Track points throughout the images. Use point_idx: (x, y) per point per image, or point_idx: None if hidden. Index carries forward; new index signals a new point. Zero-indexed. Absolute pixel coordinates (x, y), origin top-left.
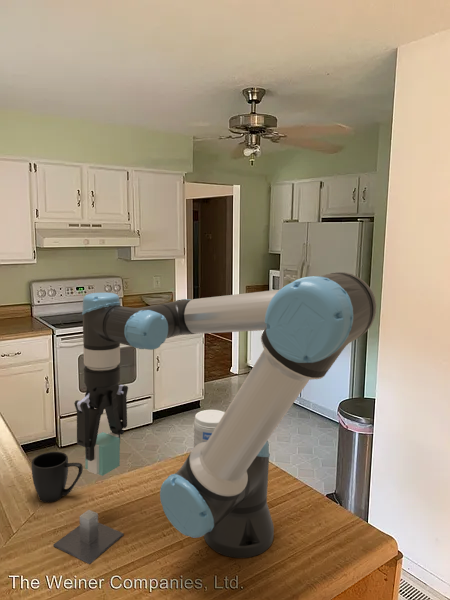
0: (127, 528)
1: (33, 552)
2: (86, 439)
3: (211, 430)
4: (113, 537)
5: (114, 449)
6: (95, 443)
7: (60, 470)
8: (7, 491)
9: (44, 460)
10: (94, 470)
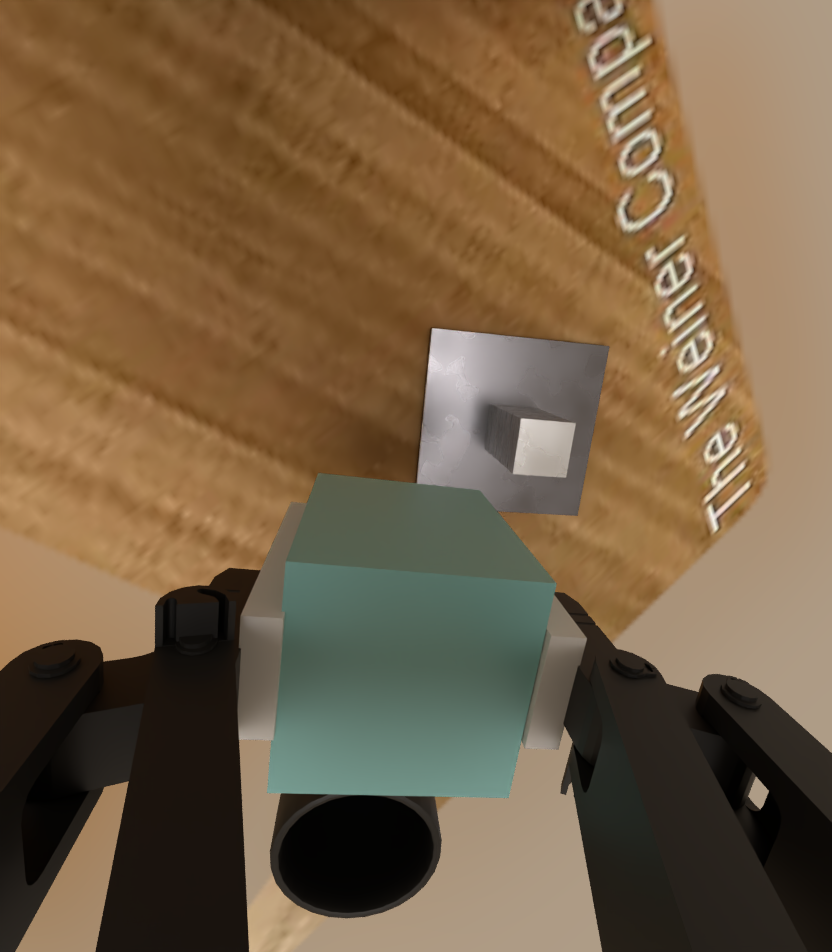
0: (387, 340)
1: (616, 546)
2: (808, 748)
3: None
4: (468, 350)
5: (373, 530)
6: (604, 665)
7: None
8: None
9: (329, 873)
10: None
